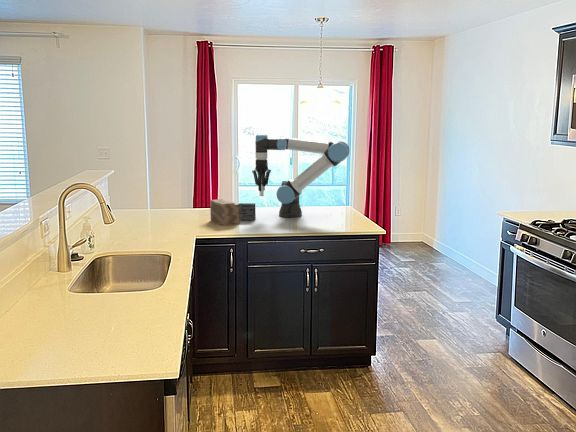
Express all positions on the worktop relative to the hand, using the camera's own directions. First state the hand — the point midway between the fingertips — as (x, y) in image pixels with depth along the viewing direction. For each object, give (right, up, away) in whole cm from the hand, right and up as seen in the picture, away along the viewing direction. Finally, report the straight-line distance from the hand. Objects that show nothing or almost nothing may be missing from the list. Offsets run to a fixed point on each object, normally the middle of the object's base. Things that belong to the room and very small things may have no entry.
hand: (261, 195), depth 373 cm
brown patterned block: (-23, -17, -11) cm, 31 cm away
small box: (-9, -16, -3) cm, 18 cm away
